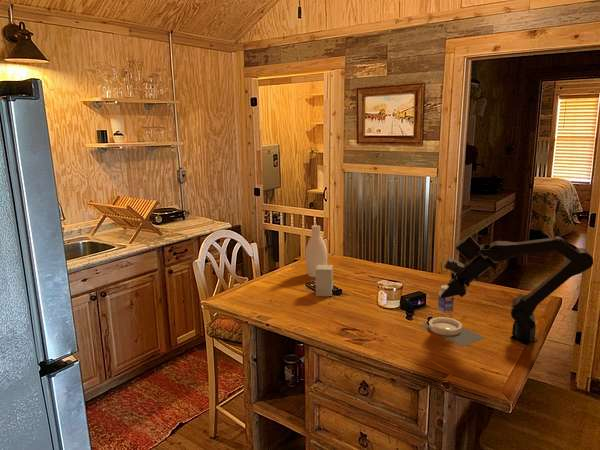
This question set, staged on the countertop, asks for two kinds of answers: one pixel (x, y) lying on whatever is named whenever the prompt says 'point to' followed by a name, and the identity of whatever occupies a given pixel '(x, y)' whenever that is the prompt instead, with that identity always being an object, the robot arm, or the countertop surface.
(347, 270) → the countertop surface
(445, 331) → the dish
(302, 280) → the countertop surface
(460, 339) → the placemat
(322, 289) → the supplement box
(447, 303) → the pill bottle
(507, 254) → the robot arm
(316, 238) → the bottle
